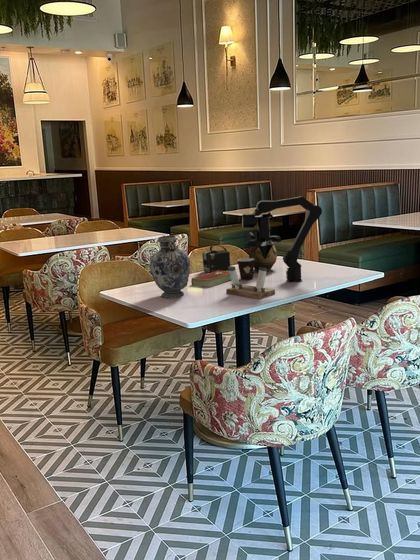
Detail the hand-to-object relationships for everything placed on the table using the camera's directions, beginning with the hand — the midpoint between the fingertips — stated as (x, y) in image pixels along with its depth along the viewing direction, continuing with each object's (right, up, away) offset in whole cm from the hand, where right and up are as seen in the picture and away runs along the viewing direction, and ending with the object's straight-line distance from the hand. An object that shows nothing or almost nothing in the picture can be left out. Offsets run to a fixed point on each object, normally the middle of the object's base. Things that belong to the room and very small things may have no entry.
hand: (265, 258), depth 260 cm
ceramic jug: (+3, -5, +35) cm, 35 cm away
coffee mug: (-7, -10, +14) cm, 19 cm away
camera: (-23, -6, +40) cm, 47 cm away
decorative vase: (-45, -18, -10) cm, 49 cm away
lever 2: (-5, -15, -24) cm, 29 cm away
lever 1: (-15, -13, -14) cm, 24 cm away
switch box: (-9, -17, -18) cm, 26 cm away
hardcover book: (-25, -12, +13) cm, 31 cm away
